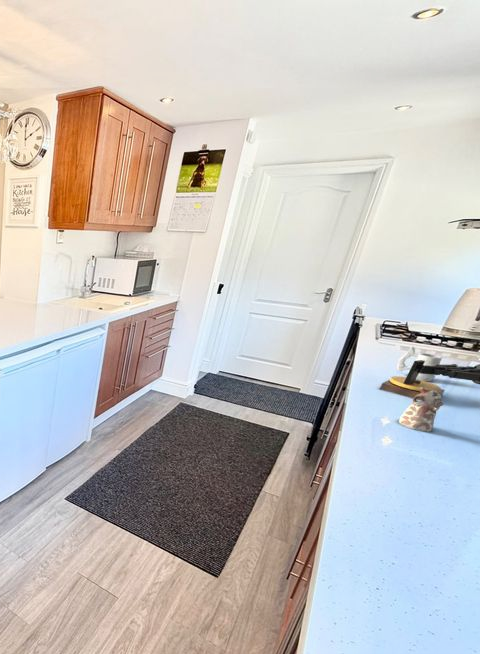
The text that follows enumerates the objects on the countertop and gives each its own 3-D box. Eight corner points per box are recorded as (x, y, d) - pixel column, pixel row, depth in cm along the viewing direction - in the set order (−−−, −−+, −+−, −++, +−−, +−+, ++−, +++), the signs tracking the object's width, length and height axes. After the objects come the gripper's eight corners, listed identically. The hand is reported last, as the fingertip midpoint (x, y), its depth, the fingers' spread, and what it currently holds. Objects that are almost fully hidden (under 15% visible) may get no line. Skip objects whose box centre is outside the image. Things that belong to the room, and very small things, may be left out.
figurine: (424, 433, 119) (444, 396, 115) (393, 422, 125) (411, 387, 120) (435, 429, 122) (455, 393, 117) (404, 418, 128) (422, 384, 123)
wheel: (445, 395, 141) (460, 368, 137) (395, 386, 147) (408, 360, 143) (431, 384, 151) (444, 359, 147) (385, 376, 157) (396, 352, 153)
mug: (431, 383, 161) (446, 354, 157) (391, 374, 170) (404, 347, 165) (433, 379, 166) (448, 351, 161) (394, 370, 174) (406, 344, 169)
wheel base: (441, 396, 148) (445, 389, 147) (431, 403, 141) (435, 396, 140) (390, 383, 159) (393, 377, 158) (379, 389, 152) (382, 383, 151)
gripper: (507, 391, 137) (432, 385, 139) (468, 378, 149) (399, 372, 151) (520, 371, 134) (443, 365, 136) (478, 359, 146) (408, 353, 148)
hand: (420, 369), depth 143 cm, fingers closed
